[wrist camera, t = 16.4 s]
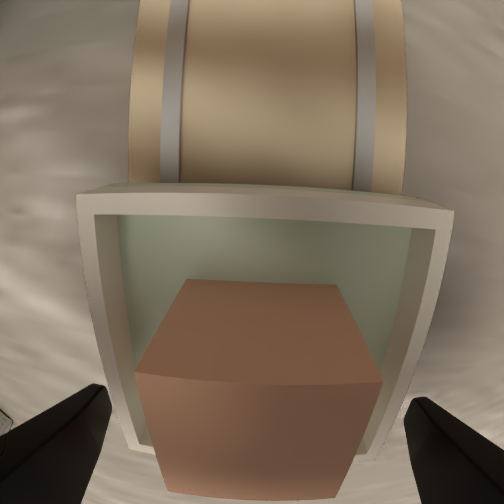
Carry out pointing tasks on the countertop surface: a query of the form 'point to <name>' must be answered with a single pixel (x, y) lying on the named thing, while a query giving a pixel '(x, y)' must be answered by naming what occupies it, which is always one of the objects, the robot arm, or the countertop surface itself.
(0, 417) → the supplement box
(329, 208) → the white tray
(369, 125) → the track
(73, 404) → the robot arm
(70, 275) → the countertop surface
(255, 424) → the block
